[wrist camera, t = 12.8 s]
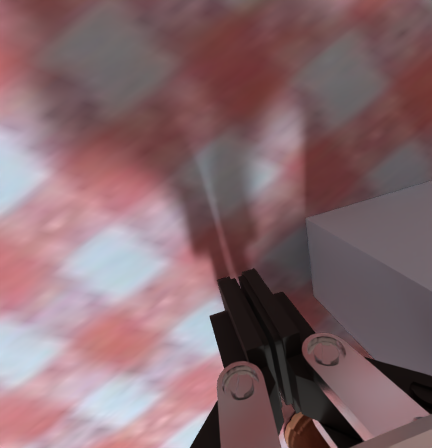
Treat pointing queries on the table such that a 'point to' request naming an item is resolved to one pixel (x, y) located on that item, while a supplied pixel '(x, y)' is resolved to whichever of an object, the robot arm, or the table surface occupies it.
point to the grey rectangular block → (379, 273)
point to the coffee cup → (303, 433)
